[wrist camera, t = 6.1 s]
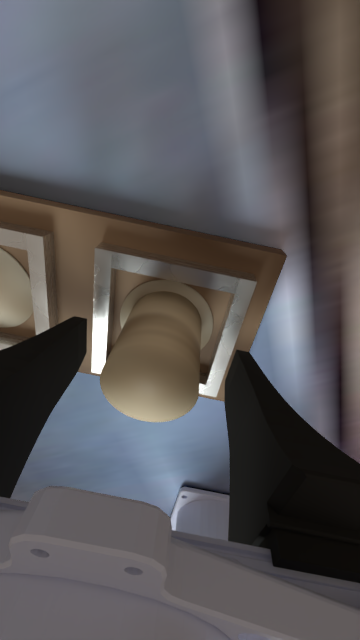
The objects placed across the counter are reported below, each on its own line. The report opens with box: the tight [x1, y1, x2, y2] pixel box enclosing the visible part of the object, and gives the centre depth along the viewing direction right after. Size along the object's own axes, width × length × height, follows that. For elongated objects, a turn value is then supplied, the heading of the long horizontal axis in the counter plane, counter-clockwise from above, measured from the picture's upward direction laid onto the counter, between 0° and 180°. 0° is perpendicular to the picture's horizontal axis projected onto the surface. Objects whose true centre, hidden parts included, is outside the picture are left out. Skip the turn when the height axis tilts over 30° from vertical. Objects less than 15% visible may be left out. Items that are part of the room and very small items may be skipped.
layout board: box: [0, 190, 287, 401], centre depth 15 cm, size 10×20×2 cm, turn 79°
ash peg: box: [100, 291, 202, 422], centre depth 13 cm, size 4×4×5 cm
